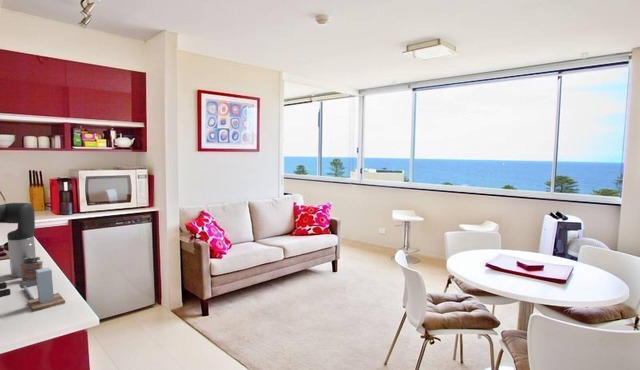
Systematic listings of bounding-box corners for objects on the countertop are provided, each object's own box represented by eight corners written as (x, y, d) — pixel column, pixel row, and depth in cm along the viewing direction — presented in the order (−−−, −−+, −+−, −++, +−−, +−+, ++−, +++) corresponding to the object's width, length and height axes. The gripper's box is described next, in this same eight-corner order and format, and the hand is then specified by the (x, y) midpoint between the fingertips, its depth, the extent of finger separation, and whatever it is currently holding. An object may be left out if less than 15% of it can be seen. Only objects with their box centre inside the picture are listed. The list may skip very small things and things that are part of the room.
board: (27, 303, 135) (27, 300, 135) (58, 295, 142) (58, 292, 142) (33, 311, 129) (33, 308, 129) (65, 302, 136) (65, 300, 136)
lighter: (20, 281, 157) (18, 259, 155) (24, 278, 160) (22, 256, 159) (41, 279, 159) (39, 257, 158) (45, 276, 162) (43, 255, 161)
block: (38, 300, 135) (35, 270, 134) (51, 297, 138) (48, 267, 137) (40, 303, 133) (38, 272, 131) (53, 300, 136) (51, 269, 134)
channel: (24, 289, 148) (24, 286, 148) (44, 284, 153) (43, 281, 152) (32, 301, 137) (32, 297, 137) (53, 295, 142) (53, 292, 142)
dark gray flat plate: (20, 284, 153) (20, 283, 153) (40, 279, 158) (40, 279, 158) (22, 288, 149) (22, 287, 149) (43, 283, 154) (43, 282, 154)
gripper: (-59, 298, 110) (10, 283, 122) (-61, 285, 119) (4, 273, 131) (-56, 321, 110) (12, 304, 122) (-58, 307, 120) (6, 292, 132)
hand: (8, 288), depth 127 cm, fingers open, 8 cm apart
